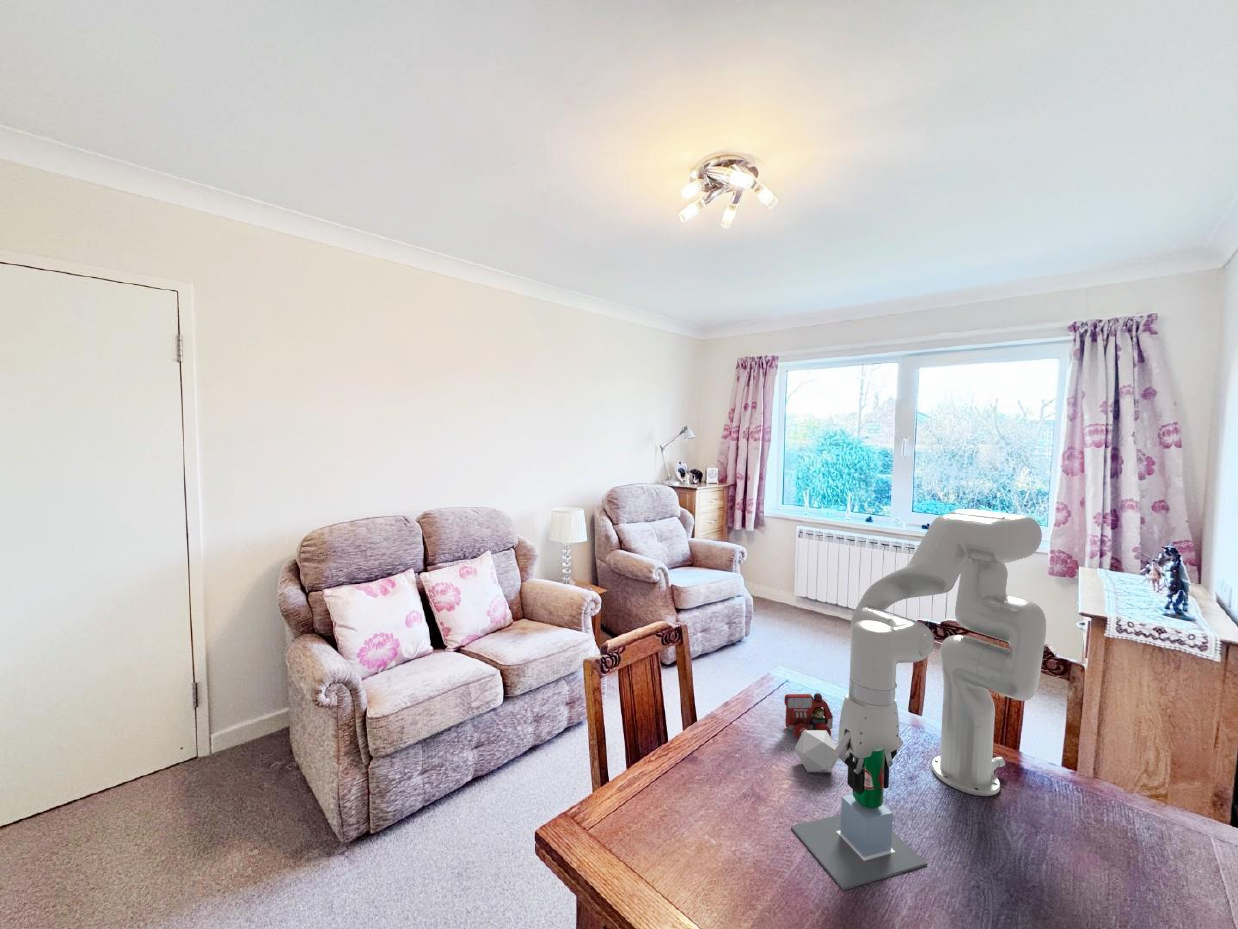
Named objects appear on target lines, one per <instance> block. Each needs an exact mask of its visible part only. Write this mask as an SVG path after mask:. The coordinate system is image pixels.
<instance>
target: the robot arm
mask: <svg viewBox="0 0 1238 929" xmlns="http://www.w3.org/2000/svg"><path fill="white" fill-rule="evenodd" d="M1042 538H1043V533H1042V529H1041V525H1040V524H1039V523H1038V522H1037V520H1036V519H1035V518H1033V517H1030V516H1028V515H1022V514H1016V513H1015V514H1013V513H1004V512H998V511H997V512H996V511H995V512H994V511H989V510H982V509H981V510H980V509H969V508H966V509H964V508H961V509H960V508H959V509H955V510H951V511H950V512H947V514H946V513H945V514H942V515H939V516H938V517H936V518H935V519H934V520H932V522H931V524H930V526H929V527H928V528H927V531H926V532H925V534H924V536H923V538H922V539H921V542H920V543H919V545H918V547H917V549H916V550H915V552H914V554H913V556H911V558H910V560H909V562H908V564H907V565H906V566H904V567H902V568H900V569H897V570H895V571H892V572H891V573H889V574H887V575H885V576H884V577H882V578H880V579H878V580H877V581H875V582H874V583H872V584H871V585H870V586H869V587H868V588H867V589H866V591H865V592H864V594H863V596H862V598H861V599H860V600H859V602H858V604H857V606H856V607H855V610H854V611H853V614H852V616H851V621H850V631H851V634H850V654H849V658H850V659H849V678H848V679H849V680H848V681H849V683H848V694H846V695H845V696H844V699H843V703H842V705H841V706H842V707H841V710H840V711H841V712H840V718H839V724H838V735H837V736H838V745H837V746H836V747H837V748H836V749H835V751H834V754H835V755H836V756H837V757H838V760H841V761H842V762H843V763H844V764H845V765H846V766H847V780H846V782H847V785H848V786H849V788H850V789H852V791H853V790H854V791H855V792H856V793H857V794H859V795H861V794H862V793H863V777H864V775H863V773H862V772H861V769H862V765H863V762H864V758H865V757H870V756H871V754H872V752H873V751H874V750H875V749H877V748H880V747H882V748H884V749H885V766H884V789H885V790H887V789H889V784H890V782H889V781H890V767H892V766H893V764H894V763H893V759H895V757H896V756H897V754H898V751H899V750H900V749H901V748H902V746H904V740H902V738H901V736H900V721H899V720H900V719H899V710H898V704H897V703H898V702H897V699H896V689H897V687H898V684H897V681H896V680H897V679H896V678H897V677H896V676H897V664H904V663H907V664H909V663H910V664H911V663H918V662H921V661H924V660H926V659H927V658H928V657H929V656H930V655H931V654H932V652H933V650H934V647H935V637H934V636H935V635H934V634H933V632H932V630H931V629H930V628H929V627H928V626H927V625H926V624H924V623H922V622H919V621H918V620H915V619H912V618H909V617H905V616H903V615H900V614H897V613H893V612H889V611H886V610H887V609H888V608H889V607H891V606H892V605H893V604H895V603H897V602H900V601H903V600H907V599H911V598H913V599H914V598H919V597H929V596H937V595H942V594H946V593H948V592H950V591H951V590H953V588H954V586H955V584H956V582H957V580H959V582H958V588H957V595H956V601H955V608H954V618H955V620H956V622H957V624H958V625H959V626H961V627H962V628H964V629H966V630H968V631H971V632H974V633H977V634H980V635H984V636H987V637H991V638H994V639H997V640H1001V641H1004V642H1006V643H1008V644H1009V647H1010V648H1008V647H1007V648H1006V647H1004V646H1001V645H997V644H994V643H991V642H988V641H985V640H982V639H979V638H975V637H972V636H969V635H964V634H963V635H962V634H955V635H953V634H952V635H950V636H948V637H946V638H944V640H943V641H942V643H941V644H940V650H939V658H940V665H941V672H942V680H943V684H942V686H943V687H942V689H943V690H942V691H943V692H942V694H943V695H942V714H941V732H940V735H941V736H940V750H939V751H940V752H939V753H940V755H938V756H936V757H934V758H933V759H932V760H931V770H932V772H933V773H934V774H935V776H936V777H938V779H939V780H941V781H942V782H943V783H945V784H946V785H948V786H949V787H951V788H953V789H955V790H958V791H961V792H962V793H966V794H969V795H974V796H979V797H980V796H981V797H989V796H994V795H997V794H998V793H999V792H1000V789H1001V783H1000V780H999V779H998V777H997V776H996V775H995V774H994V773H995V772H994V771H995V770H997V768H1001V767H1004V766H1006V761H1005V759H1004V758H1003V757H1002V756H996V757H993V756H994V755H993V752H994V735H995V717H996V707H995V703H994V699H993V697H992V695H991V693H990V692H991V691H992V692H993V693H996V694H1000V695H1002V696H1005V697H1008V698H1009V699H1010V698H1011V699H1013V700H1016V701H1021V702H1022V701H1023V702H1024V701H1025V702H1026V701H1029V700H1031V699H1033V697H1034V696H1035V695H1036V693H1037V692H1038V691H1037V690H1038V687H1039V684H1040V677H1041V671H1042V663H1043V657H1044V650H1045V649H1044V648H1045V642H1046V636H1047V634H1046V633H1047V619H1046V616H1045V615H1046V614H1045V613H1044V610H1043V609H1042V608H1041V607H1040V606H1039V605H1038V604H1036V603H1035V602H1033V601H1030V600H1027V599H1023V598H1019V597H1015V596H1012V595H1008V594H1007V592H1006V591H1007V582H1008V581H1007V580H1008V576H1009V574H1008V573H1009V572H1008V569H1007V566H1006V564H1007V563H1008V564H1009V563H1012V562H1016V561H1019V560H1023V559H1026V558H1029V557H1031V556H1033V555H1034V554H1035V553H1036V552H1037V550H1039V548H1040V546H1041V542H1042ZM958 578H959V579H958ZM989 691H990V692H989ZM854 757H856V758H857V759H856V762H854Z"/></svg>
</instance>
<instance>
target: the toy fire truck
mask: <svg viewBox="0 0 1238 929" xmlns="http://www.w3.org/2000/svg"><path fill="white" fill-rule="evenodd" d="M784 705H785V720H784V722H785V728H786V729H787V730H789V731H793V735H794V737H795V738H796V740H797V741H799V739H800V737H801V735H802V733H803V731H804V730H826V731H827V732H828V734H829V736H830V737H831V738H832V731H831V730H832V728H833V722H834V719H833V718H834V716H833V713H832V711H831V708H830V707H829V705H828V703H827V702H826V701H825V699H823V696H822V694H821V693H819V692H816V693H814V695H813V696H812V694H809V693H797V694H795V693H792V694H791V693H788V694H785V695H784Z"/></svg>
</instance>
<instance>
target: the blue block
mask: <svg viewBox="0 0 1238 929" xmlns="http://www.w3.org/2000/svg"><path fill="white" fill-rule="evenodd" d="M840 809H841V810H840V812H841V813H840V814H841V830H840V832H841V833H842V835H843V836H844V837H845V838H846V839H847V840H848V841H849V842H850V843H851V844H852V845H853V846H854V847H855V848H856V849H857V850H858V851H859V852H860V853H861V854H862V855H863V857H867V856H871V855H874V854H878V853H882V852H885V851H889V850H891V840H892V831H893V818H894V817H893V816H894V815H893V814H894V812H892V811H891V810H890V809H889V808H888V807H887V806H886V805H884V803H883V804H882V805H881V806H880V807H879V808H876V809H871V808H867V807H864V806H862V805H861V804H859V803H858V802H857V801H856V800H855V798H854V797H853V793H852V794H848V795H843V796H841V807H840Z"/></svg>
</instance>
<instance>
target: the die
mask: <svg viewBox="0 0 1238 929" xmlns="http://www.w3.org/2000/svg"><path fill="white" fill-rule="evenodd" d="M836 748H837V746H836V744H835V743H834V741H833V739H832V736H831V737H830V736H829V734H828V732H827V731H826V730H804V731H803V733H802V735H801V737H800V739H799V740H797V742H796V745H795V747H794V750H795V752H796V754H797V755H798V757H799V759H800V762H801V763H802V765H803V767H804V768H805V770H806V772H807V773H831V772H832V771H833V769H834V767H835V765H836V763H837V761H838V760H839V758H838V757H837V756H836V755H835V754H834V751H835V749H836Z"/></svg>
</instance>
